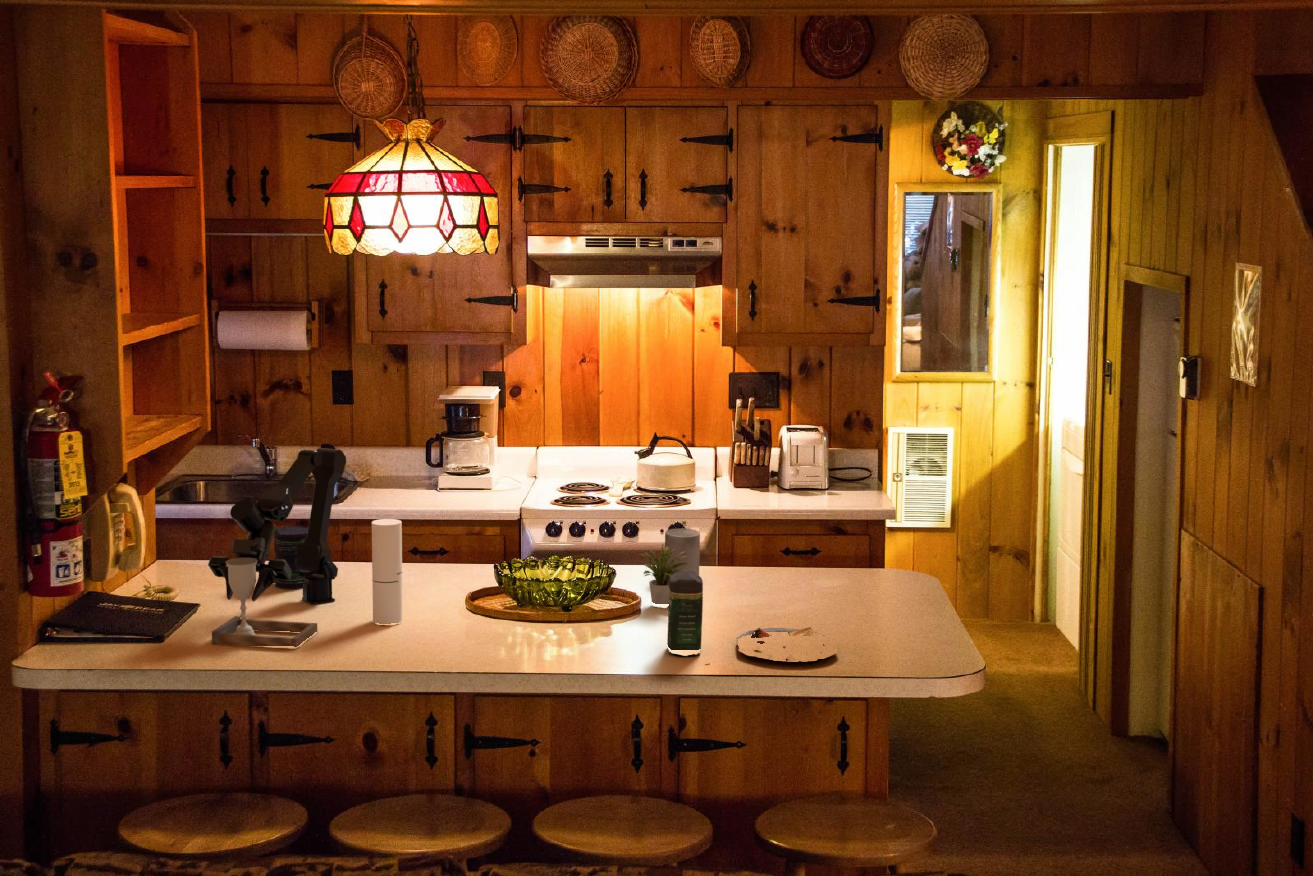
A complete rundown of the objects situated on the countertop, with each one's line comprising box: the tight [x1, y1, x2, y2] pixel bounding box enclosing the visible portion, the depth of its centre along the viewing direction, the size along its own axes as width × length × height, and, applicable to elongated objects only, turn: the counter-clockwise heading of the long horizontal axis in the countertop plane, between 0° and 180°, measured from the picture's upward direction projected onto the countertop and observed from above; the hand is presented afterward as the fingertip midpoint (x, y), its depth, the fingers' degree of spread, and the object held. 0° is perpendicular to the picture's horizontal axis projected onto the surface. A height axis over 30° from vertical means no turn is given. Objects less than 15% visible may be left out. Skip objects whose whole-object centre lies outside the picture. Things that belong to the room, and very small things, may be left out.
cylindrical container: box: [371, 518, 404, 624], centre depth 355 cm, size 7×7×25 cm
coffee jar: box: [666, 571, 704, 650], centre depth 337 cm, size 10×8×19 cm
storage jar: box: [273, 525, 309, 591], centre depth 388 cm, size 10×10×15 cm
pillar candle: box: [664, 527, 701, 577], centre depth 400 cm, size 10×10×15 cm
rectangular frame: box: [211, 615, 318, 647], centre depth 341 cm, size 20×13×3 cm, turn 82°
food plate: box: [735, 626, 826, 653], centre depth 340 cm, size 25×23×4 cm
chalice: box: [226, 557, 258, 635], centre depth 341 cm, size 7×7×18 cm
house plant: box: [640, 543, 691, 604], centre depth 374 cm, size 14×14×16 cm
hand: (240, 599), depth 340 cm, fingers closed on chalice, 6 cm apart
